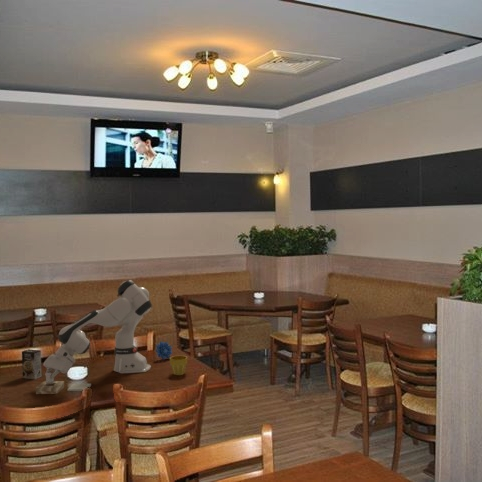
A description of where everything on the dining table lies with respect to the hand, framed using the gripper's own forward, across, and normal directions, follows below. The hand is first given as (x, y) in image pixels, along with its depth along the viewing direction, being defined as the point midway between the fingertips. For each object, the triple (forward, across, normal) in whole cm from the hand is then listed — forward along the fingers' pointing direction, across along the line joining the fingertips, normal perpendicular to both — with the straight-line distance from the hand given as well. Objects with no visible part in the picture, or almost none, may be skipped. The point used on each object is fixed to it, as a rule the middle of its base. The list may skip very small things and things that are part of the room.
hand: (48, 376), depth 319 cm
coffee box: (0, -32, +11) cm, 34 cm away
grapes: (-52, +3, +64) cm, 82 cm away
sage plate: (-4, +10, +15) cm, 18 cm away
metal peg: (+5, 0, +6) cm, 8 cm away
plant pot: (-40, +34, +52) cm, 74 cm away
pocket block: (+5, 0, +6) cm, 8 cm away
